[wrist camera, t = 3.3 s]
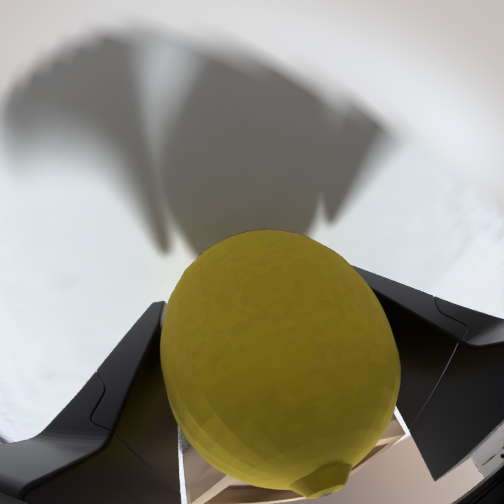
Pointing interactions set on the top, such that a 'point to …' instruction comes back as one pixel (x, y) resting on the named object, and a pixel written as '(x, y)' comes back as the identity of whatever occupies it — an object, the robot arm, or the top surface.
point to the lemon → (279, 362)
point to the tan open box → (248, 496)
